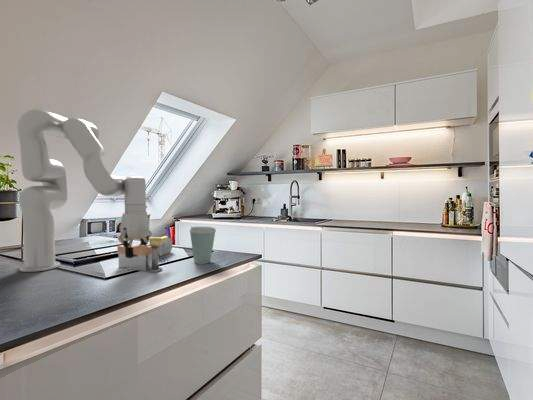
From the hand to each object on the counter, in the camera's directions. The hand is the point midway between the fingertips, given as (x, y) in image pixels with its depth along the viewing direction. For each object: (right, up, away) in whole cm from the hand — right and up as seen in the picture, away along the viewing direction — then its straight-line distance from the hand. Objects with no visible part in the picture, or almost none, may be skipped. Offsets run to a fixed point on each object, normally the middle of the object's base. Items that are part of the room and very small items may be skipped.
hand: (136, 255), depth 117 cm
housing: (+2, -5, -1) cm, 5 cm away
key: (+9, +4, 0) cm, 10 cm away
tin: (+3, -4, +23) cm, 24 cm away
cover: (0, +1, 0) cm, 1 cm away
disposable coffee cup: (+24, -5, +9) cm, 26 cm away
